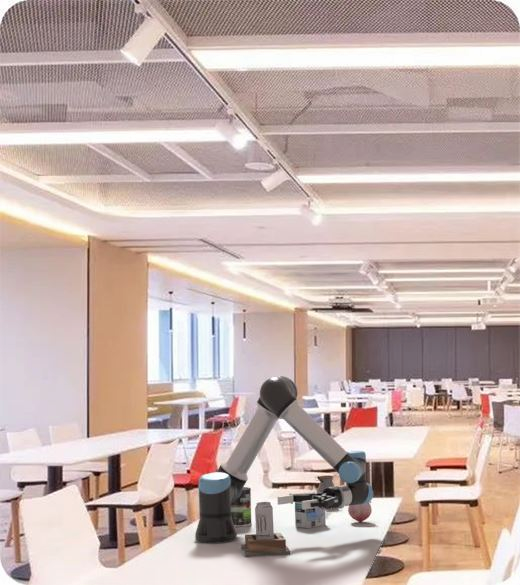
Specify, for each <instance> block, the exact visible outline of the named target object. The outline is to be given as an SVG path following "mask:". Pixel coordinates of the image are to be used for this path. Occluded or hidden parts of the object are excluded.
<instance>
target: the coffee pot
mask: <svg viewBox="0 0 520 585" xmlns="http://www.w3.org/2000/svg"><path fill="white" fill-rule="evenodd" d="M334 477H335V476H334V475H319V476H318V475H317V476H316V477H314V479H315V482H317V481H319V485H318V487H317V491H316V492H315V493H323V491H324V489H325V488H327V487H335V486H336V485H334V482H333V479H334ZM316 478H317V480H316Z"/></svg>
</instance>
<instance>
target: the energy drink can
mask: <svg viewBox="0 0 520 585" xmlns="http://www.w3.org/2000/svg"><path fill="white" fill-rule="evenodd" d="M273 510H274V507H273V506H272V504H271V502H269V501H261V502H257V503H256V506H255V508H254V515H255V534H256V540H268V539H274V533H275V530H274V529H275V528H274V512H273Z"/></svg>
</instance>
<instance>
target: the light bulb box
mask: <svg viewBox="0 0 520 585" xmlns="http://www.w3.org/2000/svg"><path fill="white" fill-rule="evenodd" d="M294 521H295V522H294V524H295V527H296V528H297V527H298V528H303V529H310V528H316V527H322V525H323V526H326V508H323V507H321V508H320V507H319V506H318V508H311V509H304V510H303V509H302V502H294Z"/></svg>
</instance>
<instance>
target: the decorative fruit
mask: <svg viewBox="0 0 520 585" xmlns="http://www.w3.org/2000/svg"><path fill="white" fill-rule="evenodd" d="M371 504H372V500H371V501H370V502H368V503H364V504H361V505H360V504H359V505H350V506H347V507H348V509H347V511H348V512H347V513H348V515H349V516H350V517H351V519H353V520H354V521H356V522H358V523H363V522H364V521H366V520H367V519H369V518H370V516H371V514H372V512H373V510H372V506H371Z"/></svg>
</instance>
